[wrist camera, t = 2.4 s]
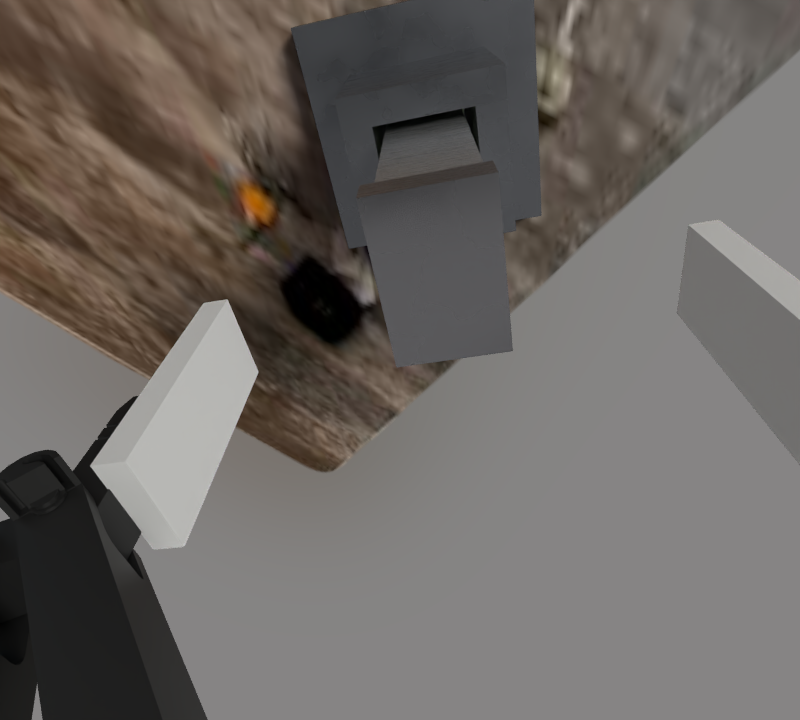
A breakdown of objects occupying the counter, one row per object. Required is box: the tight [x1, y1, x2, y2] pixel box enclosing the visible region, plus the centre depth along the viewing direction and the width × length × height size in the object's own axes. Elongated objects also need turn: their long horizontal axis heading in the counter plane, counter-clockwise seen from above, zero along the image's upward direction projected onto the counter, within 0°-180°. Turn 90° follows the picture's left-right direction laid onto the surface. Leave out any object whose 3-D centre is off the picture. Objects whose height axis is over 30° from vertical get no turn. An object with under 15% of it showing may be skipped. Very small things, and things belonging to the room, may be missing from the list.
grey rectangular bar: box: [356, 109, 513, 367], centre depth 25 cm, size 4×6×21 cm
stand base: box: [291, 0, 541, 249], centre depth 31 cm, size 14×14×11 cm
